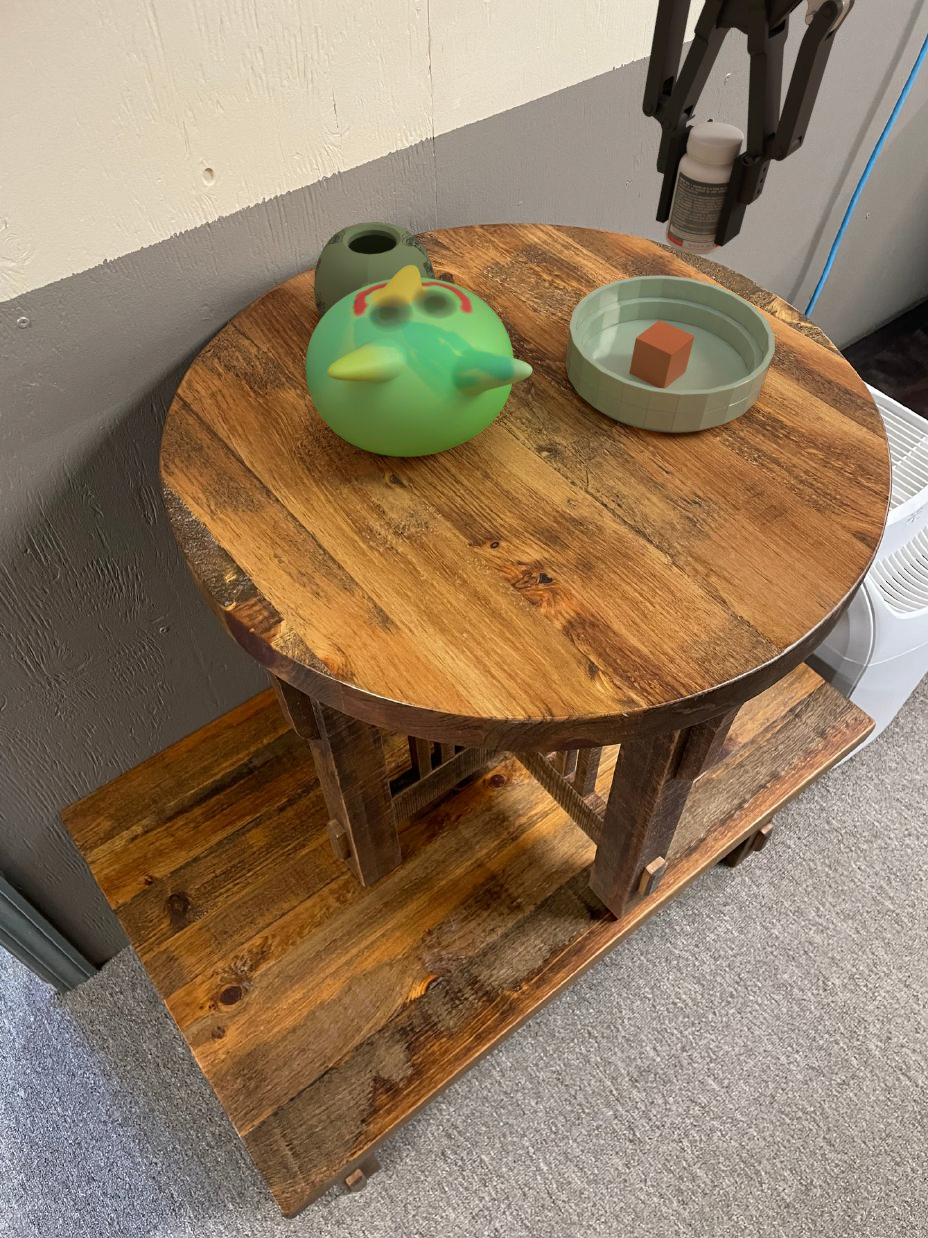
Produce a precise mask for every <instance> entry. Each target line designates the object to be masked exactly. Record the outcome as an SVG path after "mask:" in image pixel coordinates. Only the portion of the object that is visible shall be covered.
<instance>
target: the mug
mask: <svg viewBox="0 0 928 1238" xmlns="http://www.w3.org/2000/svg"><path fill="white" fill-rule="evenodd" d="M316 263H317V264H316V266H315V267H316V268H315V270H314V281H313V282H314V285H313V293H314V303H315V304H314V305H315V307H316V309H317V312H318V315H319V318H320V320H321V319H322V317H323V316H324V315H325V314H326V312H327V311H328V310H329V309H330V308H331V307H332V306H333V305H335V304H336V303H337V302H338V301H340V300H341V299H342V298H344V297H345V296H347V295H349V294H350V293H352V292H354V291H356V290H358V289H360V288H363V287H365V286H368V285H370V284H373V283H377V282H380V281H384V280H389V279H392V278H393V277H394V276H395V275H396V274H397V273H398V272H399V271H400V270H401V269H402V268H404V267H405V266H408V265H414V266H416V267H417V268H418V270H419V272H420V276H421V278H430V279H436V275H435V270H434V267H433V263H432V260H431V258H430V256H429V254H428V251H427V250H426V248H425V246H424V245H423V244H422V242H421V241H420V240H419V239H418V238H417V237H416V236H415V235H413V234H412V233H411V232H410V231H408V230H407V229H406V228H404V227H401V226H398V225H396V224H393V223H389V222H381V221H380V222H379V221H371V222H370V221H369V222H359V223H356V224H352V225H349V226H346V227H343V228H342V229H341V230H339V231H337V232H336V233H334V234H333V235H332V236H331V237H330V239H328V241H327V242H326V244H325V245H324V247H323V248H322V250H321V252H320V255H319V257H318V260H317V262H316Z"/></svg>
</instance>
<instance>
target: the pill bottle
mask: <svg viewBox="0 0 928 1238" xmlns="http://www.w3.org/2000/svg"><path fill="white" fill-rule="evenodd" d="M693 126H694V127H693V128H692V129H691V131H690V134H689V139H688V143H687V153H686V154H684V155H683V157H682V158H681V160H680V163H679V167H678V172H677V178H676V183H675V189H674V194H673V199H672V204H671V209H670V214H669V219H668V220H667V224H666V229H665V240H666V242H667V243H668V245H669V246H670V247H671V248H673V249H674V250H676V251H678V252H681V253H684V254H689V255H699V256H700V255H709V254H712V253H714V252H715V253H716V251H718V250H720V249H721V248H722V247H721V246H719V245H716V244H714V241H715V237H716V233H717V229H718V224H719V220H720V216H721V212H722V208H723V204H724V200H725V196H726V192H727V188H728V184H729V180H730V175H731V171H732V167H733V163H734V159H735V158H737V157H738V156H739V155H741V154H742V149H743V145H744V141H745V134H744V132H743V131H742V130H741V129H740V128H739V127H736V126H734V125H731V124H729V123H724V122H718V121H706V122H705V121H704V122H701V123H698V124H695V125H693Z"/></svg>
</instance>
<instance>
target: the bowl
mask: <svg viewBox="0 0 928 1238" xmlns="http://www.w3.org/2000/svg"><path fill="white" fill-rule="evenodd" d="M659 320H661V321H663V322H665V323H667V324H669V325H671V326H674V327H676V328H678V329H680V330H682V331H685V332H687V333H689V334H691V335H693V336H694V340H693V344H692V348H691V352H690V356H689V361H688V365H687V369H686V372H684V373H683V374H682V375H681V376H680V377H678V378H677V379H676V380H675V381H674V382H672V383H671V384H670V385H669V386H668V387H667V388H665V389H664V388H658V387H656V386H654V385H652V384H650V383H648V382H646V381H644V380H642V379H640V378H638V377H636V376H634V375H632V374H630V373H629V372H630V367H631V361H632V356H633V351H634V345H635V340H636V337H638V336H639V335H640V334H642V333H643V332H644V331H646V330H647V329H648V328H649V327H651V326H652V325H653V324H655V323H656V322H657V321H659ZM567 334H568V335H567V344H566V352H565V359H564V360H565V361H564V364H565V369H566V373H567V374H566V375H567V378H568V380H569V382H570V383H571V385H572V386H573V388H574V389H575V391H576V393H577V394H578V395H579V397H581V398H582V399H584V400H585V401H586V402H587V403H588V404H590V405H591V406H592V407H593V408H594V409H595V410H597V411H599V412H600V413H602V414H604V415H605V416H607V417H609V418H610V419H613V420H614V421H617V422H619V423H622V424H625V425H627V426H630V427H633V428H637V429H642V430H645V431H651V432H657V433H658V432H659V433H669V434H675V433H676V434H679V433H680V434H681V433H682V434H683V433H694V432H700V431H704V430H708V429H712V428H715V427H719V426H723V425H725V424H728V423H730V422H731V421H734V420H735V419H737V418H740V417H742V416H743V415H745V413H746V412H747V411H749V409H751V408H752V407H753V406H754V405H755V404H756V403H757V401H758V400H759V397H760V394H761V392H762V390H763V389H764V385H765V382H766V379H767V377H768V373H769V370H770V367H771V365H772V361H773V359H774V355H775V352H776V341H775V340H776V339H775V332H774V331H773V329H772V327H771V325H770V323H769V321H768V319H767V318H766V317H765V316H764V315H763V314H762V313H761V312H760V311H759V310H758V309H757V308H756V306H755V305H753V304H752V303H751V302H749V301H747V300H745V299H744V298H743V297H742V296H739V294H737V293H735V292H733V291H730V290H728V289H726V288H723V287H721V286H718V285H716V284H713V283H710V282H706V281H702V280H699V279H695V278H690V277H682V276H673V275H663V274H662V275H638V276H633V277H628V278H622V279H616V280H614V281H611V282H609V283H606V284H603V285H601V286H598V287H597V288H595V289H594V290H592V291H591V292H589V293H588V294H587V295H585V296H584V297H582V298H581V299H580V301H579V302H578V303H577V305H576V306H575V308H574V309H573V310H572V313H571V316H570V321H569V327H568V333H567Z"/></svg>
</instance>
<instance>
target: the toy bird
mask: <svg viewBox="0 0 928 1238" xmlns="http://www.w3.org/2000/svg"><path fill="white" fill-rule="evenodd" d="M508 333H509V332H508V330H507V329H506V327H505V325H504V323H503V322H502V320H501V318H500V317H499V315H498V314H497V313H496V311H495V310H494V309H493V308H492V307H491V306H490V305H489V304H488V303H487V302H486V301H485V300H483V299H482V298H481V297H480V296H478V295H477V294H476V293H473V292H472V291H470V290H469V289H467V288H465V287H462V286H460V285H458V284H456V283H452V282H448V281H445V280H441V279H436V278H435V279H430V278H421V276H420V272H419V270H418V268H417V267H416V266H414V265H408V266H405V267H404V268H402V269H401V270H400V271H399V272H398V273H397V274H396V275H395V276H394V277H393V278H392V279H389V280H384V281H380V282H377V283H373V284H370V285H368V286H365V287H363V288H360V289H358V290H356V291H354V292H352V293H350V294H349V295H347V296H345V297H344V298H342V299H341V300H340V301H338V302H337V303H336V304H335V305H333V306H332V307H331V308H330V309H329V310H328V311H327V312H326V314H325V315H324V316H323V317H322V319H321V318H320V320H319V322H318V323H317V325H316V326H315V328H314V330H313V332H312V334H311V337H310V340H309V343H308V346H307V350H306V357H305V379H306V385H307V389H308V392H309V396H310V398H311V401H312V403H313V405H314V407H315V409H316V411H317V413H318V414H319V417H321V419H322V420H323V422H324V423H325V424H326V425H327V426H328V427H329V429H330V430H332V431H333V432H334V433H335V434H336V435H337V436H338V437H340V438H342V439H343V440H344V441H345V442H347V443H349V444H351V445H352V446H355V447H357V448H359V449H361V450H364V451H366V452H369V453H373V454H378V455H381V456H382V455H383V456H387V457H388V456H390V457H400V458H401V457H404V458H407V457H410V458H411V457H413V458H414V457H423V456H430V455H434V454H438V453H442V452H446V451H448V450H451V449H453V448H456V447H459V446H461V445H463V444H465V443H467V442H469V441H470V440H472V439H474V438H476V437H477V436H478V435H479V434H481V433H482V432H484V430H486V429H487V428H488V427H489V426H490V425H491V424H492V423H493V422H494V421H495V420H496V419H497V417H498V416H499V415H500V413H501V412H502V410H503V409H504V407H505V405H506V403H507V401H508V398H509V397H510V394H511V391H512V387H513V384H516V383H519V382H521V381H524V380H525V379H527V378H529V377H530V376H531V375H532V373H533V367H532V365H530V364H529V363H527V362H525V361H523V360H520V359H518V358H514V351H513V346H512V342H511V339H510V335H509V334H508Z"/></svg>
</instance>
